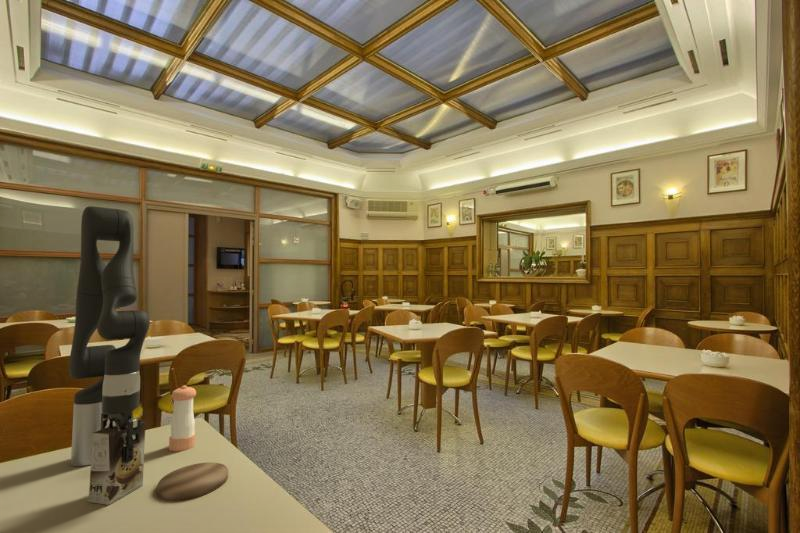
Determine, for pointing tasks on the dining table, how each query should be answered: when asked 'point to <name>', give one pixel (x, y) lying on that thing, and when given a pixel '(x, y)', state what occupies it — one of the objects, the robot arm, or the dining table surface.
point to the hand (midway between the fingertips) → (118, 458)
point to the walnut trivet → (192, 481)
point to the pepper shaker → (182, 419)
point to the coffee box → (114, 466)
